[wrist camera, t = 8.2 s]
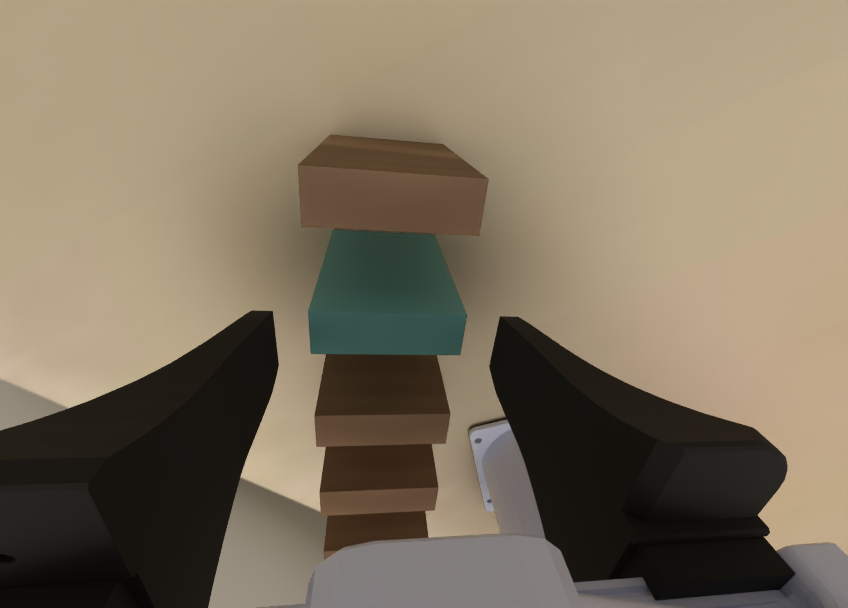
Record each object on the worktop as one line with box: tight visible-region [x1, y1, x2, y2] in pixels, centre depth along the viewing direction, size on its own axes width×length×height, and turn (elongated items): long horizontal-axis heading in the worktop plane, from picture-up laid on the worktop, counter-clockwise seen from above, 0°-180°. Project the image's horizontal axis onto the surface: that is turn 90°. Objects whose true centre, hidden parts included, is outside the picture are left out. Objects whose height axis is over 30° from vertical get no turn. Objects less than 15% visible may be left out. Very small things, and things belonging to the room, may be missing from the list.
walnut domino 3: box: [320, 444, 438, 516], centre depth 20 cm, size 2×5×8 cm, turn 85°
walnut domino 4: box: [324, 511, 428, 560], centre depth 22 cm, size 2×5×8 cm, turn 85°
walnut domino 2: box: [315, 354, 450, 447], centre depth 18 cm, size 2×5×8 cm, turn 85°
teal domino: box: [308, 230, 467, 355], centre depth 16 cm, size 2×5×8 cm, turn 84°
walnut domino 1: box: [298, 135, 489, 236], centre depth 14 cm, size 2×5×8 cm, turn 85°
